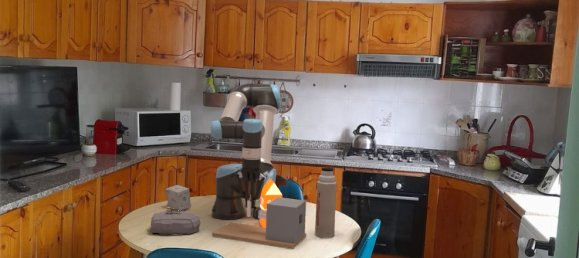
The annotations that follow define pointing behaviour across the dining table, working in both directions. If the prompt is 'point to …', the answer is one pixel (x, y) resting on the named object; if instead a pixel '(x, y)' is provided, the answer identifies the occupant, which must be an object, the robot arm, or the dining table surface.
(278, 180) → the decorative mushroom
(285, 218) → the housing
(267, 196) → the orange juice
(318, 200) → the thermos bottle
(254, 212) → the shaft
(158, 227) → the grey rounded bag
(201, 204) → the dining table surface
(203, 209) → the dining table surface
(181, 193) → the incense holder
